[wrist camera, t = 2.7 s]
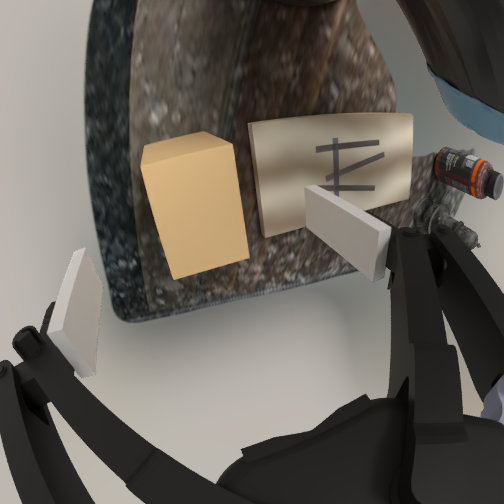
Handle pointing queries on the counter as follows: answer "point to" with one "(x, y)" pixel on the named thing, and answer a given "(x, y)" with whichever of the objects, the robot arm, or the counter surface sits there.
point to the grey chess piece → (443, 221)
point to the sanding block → (195, 202)
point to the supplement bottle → (468, 174)
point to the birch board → (329, 163)
